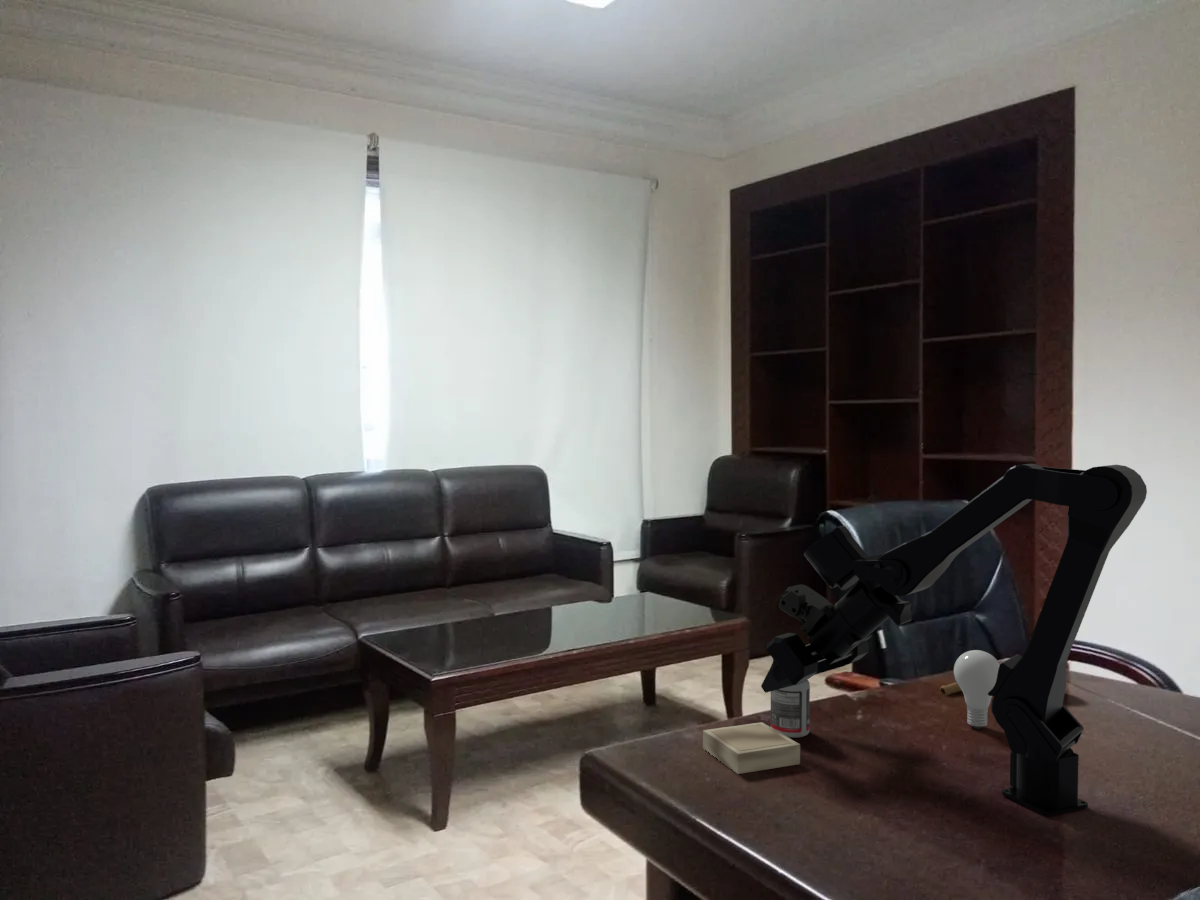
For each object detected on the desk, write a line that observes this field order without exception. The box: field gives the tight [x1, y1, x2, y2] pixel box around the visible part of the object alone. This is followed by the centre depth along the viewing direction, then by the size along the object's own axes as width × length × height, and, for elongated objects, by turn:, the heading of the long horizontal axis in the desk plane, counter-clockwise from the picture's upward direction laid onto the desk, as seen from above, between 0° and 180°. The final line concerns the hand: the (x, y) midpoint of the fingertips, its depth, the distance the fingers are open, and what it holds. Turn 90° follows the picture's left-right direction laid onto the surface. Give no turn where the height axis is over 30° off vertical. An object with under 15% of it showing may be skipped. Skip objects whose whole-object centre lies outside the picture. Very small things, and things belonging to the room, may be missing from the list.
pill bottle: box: [770, 679, 811, 739], centre depth 122 cm, size 5×5×10 cm
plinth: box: [702, 721, 801, 775], centre depth 113 cm, size 9×9×3 cm
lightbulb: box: [953, 649, 1001, 729], centre depth 124 cm, size 6×6×11 cm
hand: (781, 682), depth 123 cm, fingers open, 9 cm apart
